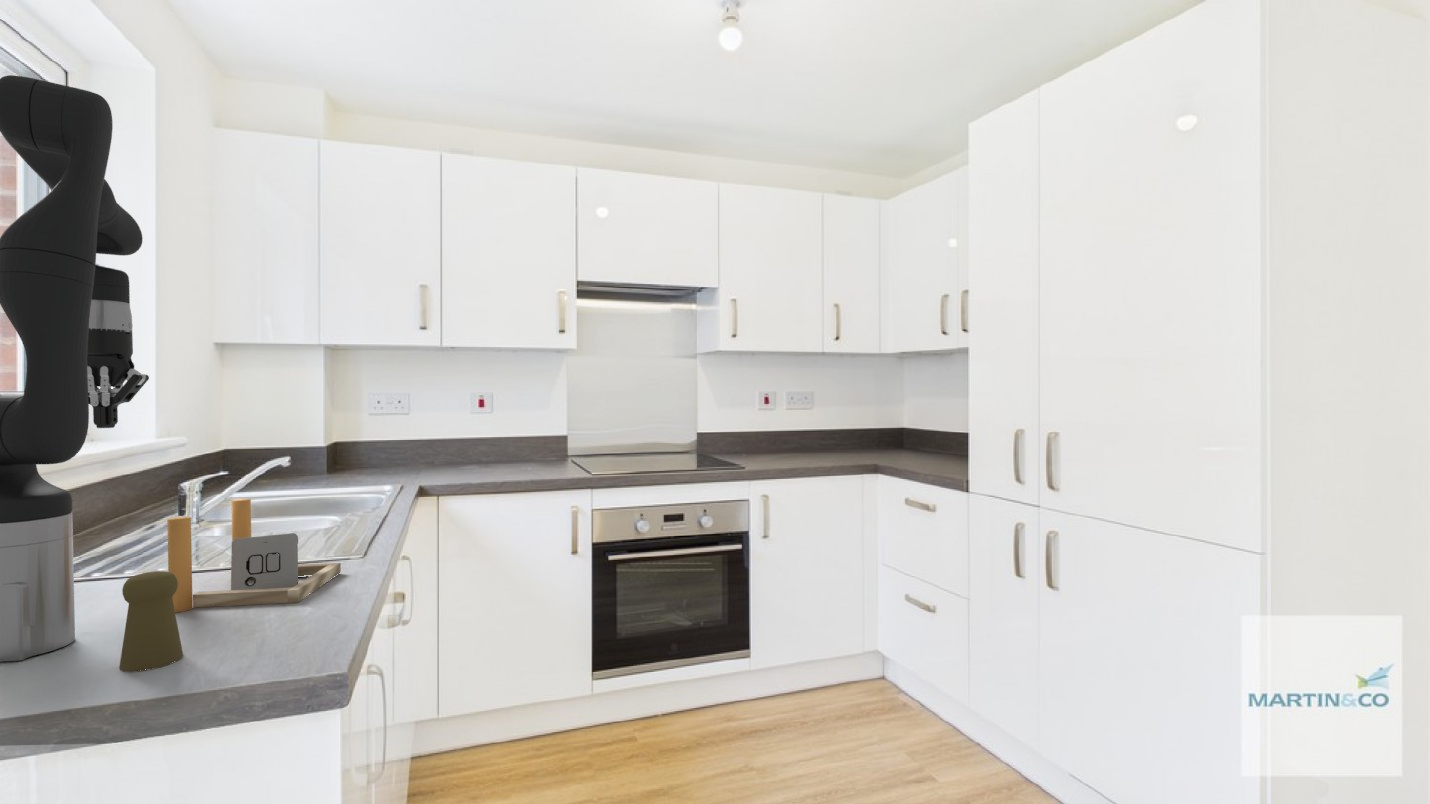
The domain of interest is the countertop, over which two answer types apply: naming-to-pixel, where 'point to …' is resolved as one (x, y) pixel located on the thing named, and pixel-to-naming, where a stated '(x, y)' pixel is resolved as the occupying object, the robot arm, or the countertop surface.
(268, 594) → the wooden square frame
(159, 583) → the cork
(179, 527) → the post left
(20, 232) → the robot arm
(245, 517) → the post right
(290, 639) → the countertop surface
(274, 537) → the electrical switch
